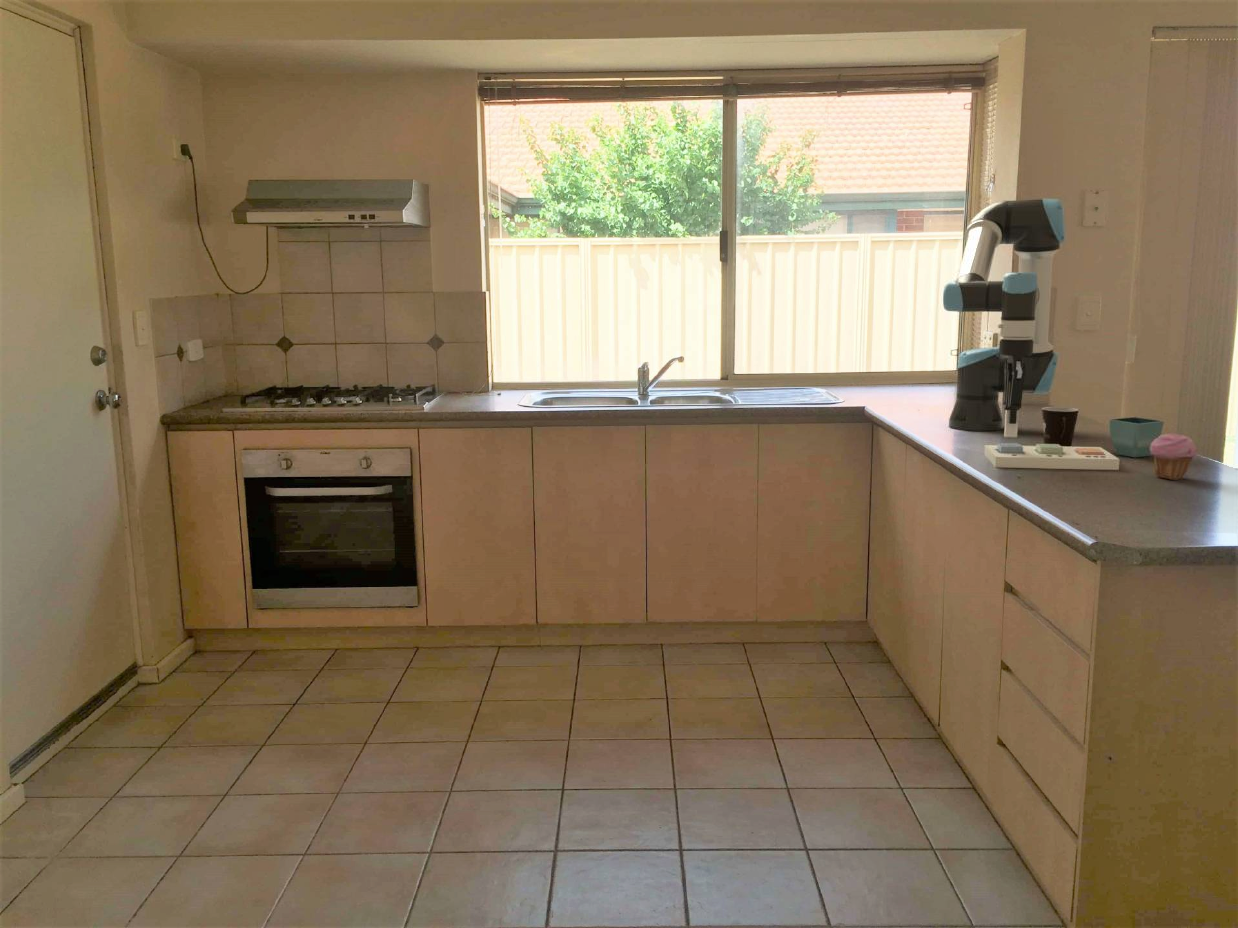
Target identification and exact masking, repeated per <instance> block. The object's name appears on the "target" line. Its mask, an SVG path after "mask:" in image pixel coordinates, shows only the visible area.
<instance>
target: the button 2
mask: <svg viewBox="0 0 1238 928" xmlns="http://www.w3.org/2000/svg"><path fill="white" fill-rule="evenodd" d="M1035 446H1036V452H1037V453H1038V454H1063V447H1061V446H1060V445H1059V444H1044V443H1036V444H1035Z"/></svg>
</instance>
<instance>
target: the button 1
mask: <svg viewBox="0 0 1238 928" xmlns="http://www.w3.org/2000/svg"><path fill="white" fill-rule="evenodd" d="M996 445H997V452H998V453H1016V454H1023V447H1022V446H1023V445H1021V444H1020V443H1018V442H1017V443H1013V442H1011V443H1010V442H1009V443H1006V442H1004V443H1003V442H997V444H996Z"/></svg>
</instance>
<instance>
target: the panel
mask: <svg viewBox="0 0 1238 928" xmlns="http://www.w3.org/2000/svg"><path fill="white" fill-rule="evenodd" d="M1021 446H1022V447H1023V454H1016V453H998V452H997V444H996V445H995V444H994V445H993V444H985V445H984V454H983V455H984V457H985V458H986V459H987V460H988V461H989V462H990V463H991V464H992V465H993V466H994V468H1009V469H1010V468H1011V469H1012V468H1017V469H1055V470H1056V469H1057V470H1058V469H1060V470H1061V469H1062V470H1098V471H1099V470H1100V471H1101V470H1102V471H1103V470H1107V471H1114V470H1115V471H1119V469H1120V459H1119V458H1118V457H1117V456H1115V455H1114V454H1112V453H1110V452H1109V451H1108V450H1106V449H1104V448H1103V447H1102V446H1071V447H1065V446H1061V447H1063V454H1038V453H1037V452H1036V445H1021ZM1076 448H1098V449H1100V450H1101V451H1103V452H1104V455H1079V454H1077V453H1076V452H1075V451H1076Z"/></svg>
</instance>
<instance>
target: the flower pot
mask: <svg viewBox="0 0 1238 928" xmlns="http://www.w3.org/2000/svg"><path fill="white" fill-rule="evenodd" d="M1108 423H1109V435H1110V436H1109V437H1110V440H1111V443H1112V446H1113V448H1114V450H1115V452H1116V453H1117V455H1119V456H1125V457H1130V458H1135V459H1136V458H1139V457H1142V458H1143V457H1149V456H1151V455H1152V454H1151V452H1150V446H1151V443H1152V442H1153V441H1154V440H1155V439H1157V438H1158V437H1159V436H1160V435H1162V431H1163V427H1164V423H1165V422H1164V420H1158V419H1153V418H1144V417H1138V416H1137V417H1136V416H1131V417H1128V416H1127V417H1120V418H1110V419H1109V420H1108Z"/></svg>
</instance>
